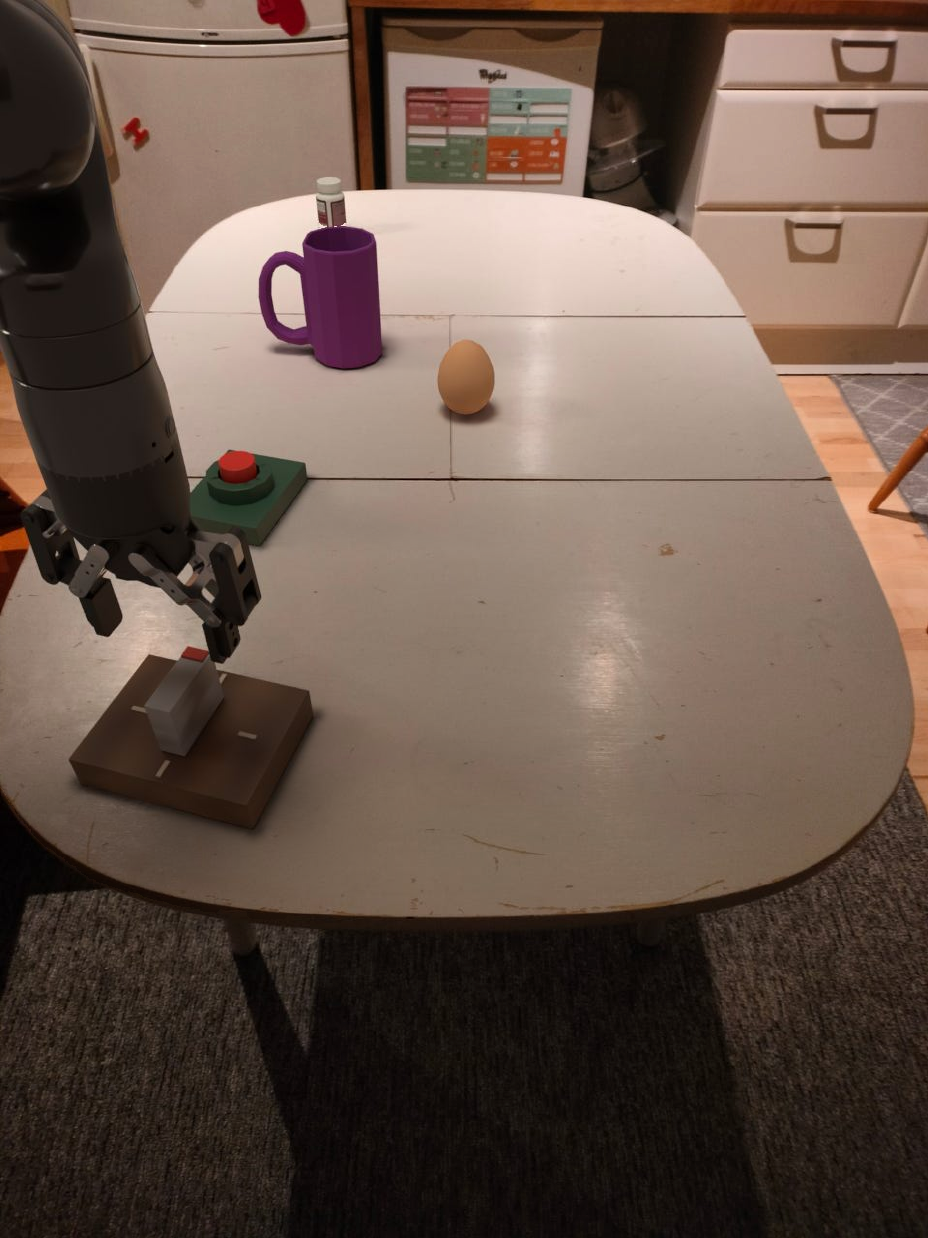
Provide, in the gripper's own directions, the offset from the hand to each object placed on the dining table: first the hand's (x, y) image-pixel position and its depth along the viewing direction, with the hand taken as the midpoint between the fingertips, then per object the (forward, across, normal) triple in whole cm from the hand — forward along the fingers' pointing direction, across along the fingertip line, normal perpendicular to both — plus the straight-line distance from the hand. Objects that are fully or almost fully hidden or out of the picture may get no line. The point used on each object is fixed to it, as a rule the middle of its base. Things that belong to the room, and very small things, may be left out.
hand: (167, 641), depth 58 cm
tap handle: (+8, 0, 0) cm, 8 cm away
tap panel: (+11, 0, 0) cm, 11 cm away
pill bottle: (+12, -30, +106) cm, 111 cm away
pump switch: (+12, -10, +30) cm, 34 cm away
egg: (+11, +7, +55) cm, 56 cm away
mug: (+12, -15, +64) cm, 67 cm away
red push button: (+8, -10, +30) cm, 33 cm away
